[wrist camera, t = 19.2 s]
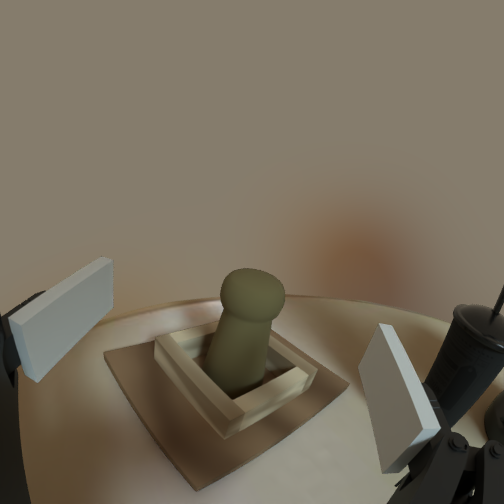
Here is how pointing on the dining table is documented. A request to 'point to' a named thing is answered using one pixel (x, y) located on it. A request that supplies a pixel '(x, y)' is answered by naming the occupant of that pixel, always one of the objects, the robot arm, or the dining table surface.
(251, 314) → the olive green peg doll
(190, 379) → the well board
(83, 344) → the dining table surface
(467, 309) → the drinking cup
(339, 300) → the dining table surface
